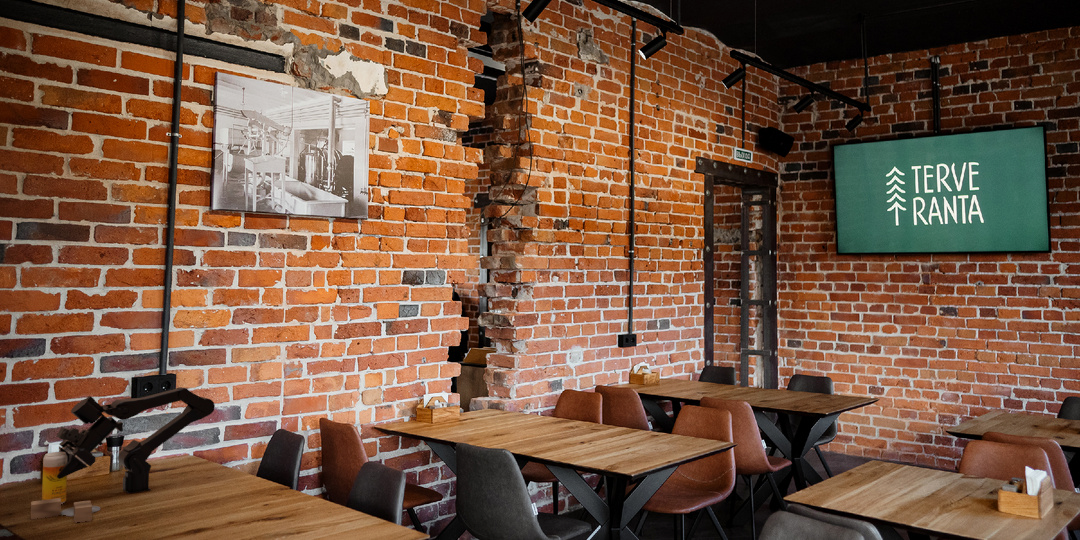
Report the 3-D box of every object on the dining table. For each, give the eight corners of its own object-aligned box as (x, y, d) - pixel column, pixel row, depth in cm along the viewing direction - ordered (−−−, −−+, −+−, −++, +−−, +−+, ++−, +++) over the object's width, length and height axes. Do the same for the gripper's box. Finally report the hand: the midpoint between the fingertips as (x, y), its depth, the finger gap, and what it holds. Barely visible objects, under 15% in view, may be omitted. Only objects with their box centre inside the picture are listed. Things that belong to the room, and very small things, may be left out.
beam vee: (64, 503, 228) (65, 490, 229) (122, 508, 225) (123, 494, 225) (22, 518, 214) (22, 504, 214) (83, 523, 210) (84, 509, 210)
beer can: (54, 507, 225) (55, 456, 225) (36, 506, 226) (38, 455, 226) (70, 502, 231) (72, 452, 231) (53, 500, 232) (55, 450, 232)
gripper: (68, 413, 239) (25, 453, 231) (85, 421, 226) (39, 464, 218) (95, 435, 244) (54, 475, 236) (113, 444, 231) (70, 487, 223)
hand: (53, 474), depth 228 cm, fingers open, 9 cm apart
